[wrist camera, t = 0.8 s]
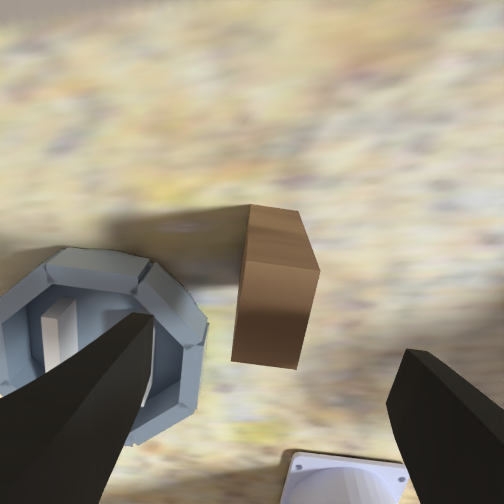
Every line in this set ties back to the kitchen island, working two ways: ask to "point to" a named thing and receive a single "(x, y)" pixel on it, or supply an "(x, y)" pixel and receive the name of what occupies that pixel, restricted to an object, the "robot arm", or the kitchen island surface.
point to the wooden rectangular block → (274, 289)
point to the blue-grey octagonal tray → (105, 327)
